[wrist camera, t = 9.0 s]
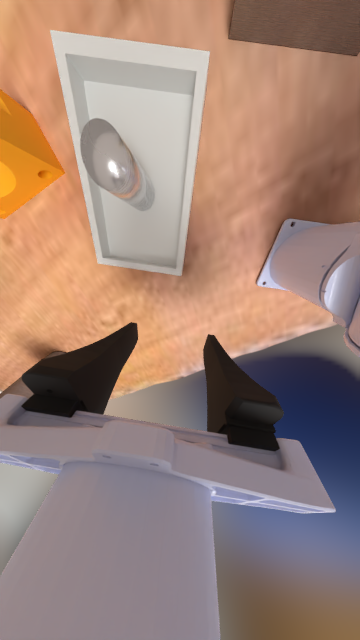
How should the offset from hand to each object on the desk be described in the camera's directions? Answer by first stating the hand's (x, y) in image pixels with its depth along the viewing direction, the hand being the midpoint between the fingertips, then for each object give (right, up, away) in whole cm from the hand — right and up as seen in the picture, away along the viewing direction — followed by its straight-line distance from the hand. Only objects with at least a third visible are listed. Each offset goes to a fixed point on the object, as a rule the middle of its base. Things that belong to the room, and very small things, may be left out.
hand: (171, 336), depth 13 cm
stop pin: (-4, +16, +2) cm, 17 cm away
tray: (-4, +16, +2) cm, 17 cm away
